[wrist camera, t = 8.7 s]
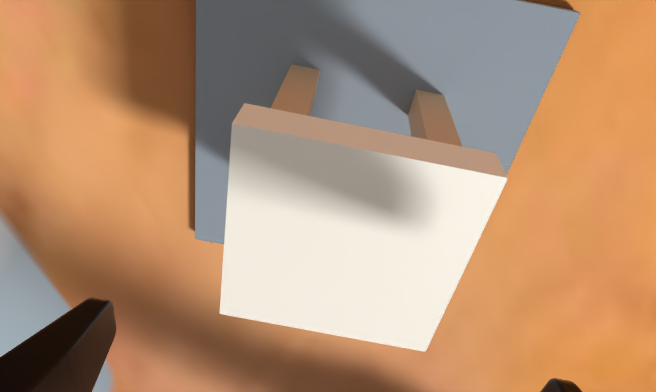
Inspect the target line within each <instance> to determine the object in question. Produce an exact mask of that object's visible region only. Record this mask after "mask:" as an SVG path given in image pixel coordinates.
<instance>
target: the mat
mask: <svg viewBox="0 0 656 392" xmlns="http://www.w3.org/2000/svg"><path fill="white" fill-rule="evenodd" d="M579 16H580V13H579V12H578V11H576V10H571V9H566V8H561V7H556V6H551V5H546V4H541V3H536V2H531V1H526V0H196V113H195V239H198V240H203V241H209V242H214V243H220V244H224V239H225V223H226V208H227V192H228V177H229V161H230V146H231V130H232V122H233V121H234V119H235V118H236V116H237V114H238V113H239V111H240V109H241V108H242V106H243V105H244V103H247V104H252V105H257V106H262V107H267V108H271V106H272V104H273V102H274V100H275V98H276V96H277V94H278V91H279V89H280V87H281V85H282V83H283V81H284V79H285V77H286V75H287V73H288V70H289V68H290V66H291V64H293V65H298V66H303V67H308V68H313V69H318V70H320V73H319V78H318V84H317V90H316V96H315V100H314V103H313V107H312V111H311V114H310V116H312V117H317V118H322V119H327V120H332V121H337V122H342V123H347V124H352V125H357V126H362V127H367V128H372V129H377V130H382V131H387V132H392V133H397V134H402V135H407V136H411V131H410V125H409V119H408V114H409V111H410V107H411V104H412V101H413V97H414V94H415V91H416V90H421V91H426V92H431V93H436V94H441V95H444V97H445V100H446V102H447V105H448V108H449V111H450V113H451V116H452V119H453V122H454V124H455V127H456V130H457V133H458V135H459V138H460V141H461V144H462V146H463V147H467V148H472V149H477V150H482V151H487V152H492V153H496V154H497V156H498V158H499V160H500V163H501V165H502V167H503V169H504V171H505V173H506V175H507V173H508V171H509V168H510V166H511V164H512V162H513V160H514V157H515V155H516V153H517V151H518V149H519V146H520V144H521V142H522V140H523V138H524V136H525V133H526V131H527V129H528V127H529V125H530V122H531V120H532V118H533V116H534V114H535V112H536V109H537V107H538V105H539V103H540V101H541V98H542V96H543V94H544V92H545V90H546V88H547V85H548V83H549V81H550V79H551V77H552V74H553V72H554V70H555V68H556V66H557V64H558V61H559V59H560V57H561V55H562V53H563V50H564V48H565V46H566V44H567V42H568V40H569V37H570V35H571V33H572V31H573V29H574V26H575V24H576V22H577V20H578V18H579Z"/></svg>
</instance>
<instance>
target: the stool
mask: <svg viewBox="0 0 656 392" xmlns="http://www.w3.org/2000/svg"><path fill="white" fill-rule="evenodd" d="M319 73H320V70H318V69H313V68H308V67H303V66H298V65H293V64H291V66H290V68H289V70H288V73H287V75H286V77H285V79H284V81H283V83H282V85H281V87H280V89H279V91H278V94H277V96H276V98H275V100H274V102H273V104H272V106H271V108H267V107H262V106H257V105H252V104H247V103H244V105H243V106H242V108H241V109H240V111H239V113H238V114H237V116H236V118H235V119H234V121H233V122H232V130H231V146H230V161H229V177H228V192H227V208H226V223H225V239H224V254H223V270H222V285H221V300H220V314H223V315H229V316H234V317H240V318H245V319H250V320H256V321H261V322H267V323H272V324H278V325H283V326H288V327H294V328H299V329H305V330H310V331H315V332H321V333H326V334H332V335H337V336H343V337H348V338H353V339H359V340H364V341H370V342H375V343H381V344H386V345H391V346H397V347H402V348H408V349H413V350H419V351H424V352H426V350H427V347H428V345H429V343H430V341H431V339H432V337H433V335H434V333H435V331H436V328H437V326H438V324H439V322H440V320H441V318H442V316H443V314H444V312H445V310H446V307H447V305H448V303H449V301H450V299H451V297H452V295H453V293H454V291H455V289H456V286H457V284H458V282H459V280H460V278H461V276H462V274H463V272H464V270H465V267H466V265H467V263H468V261H469V259H470V257H471V255H472V253H473V251H474V249H475V246H476V244H477V242H478V240H479V238H480V236H481V234H482V232H483V230H484V228H485V225H486V223H487V221H488V219H489V217H490V215H491V213H492V211H493V209H494V206H495V204H496V202H497V200H498V198H499V196H500V194H501V192H502V190H503V188H504V185H505V183H506V181H507V179H508V177H507V175H506V173H505V171H504V169H503V167H502V165H501V163H500V160H499V158H498V156H497V154H496V153H492V152H487V151H482V150H477V149H472V148H467V147H463V146H462V144H461V141H460V138H459V135H458V133H457V130H456V127H455V124H454V122H453V119H452V116H451V113H450V111H449V108H448V105H447V102H446V100H445V97H444V95H441V94H436V93H431V92H426V91H421V90H416V91H415V94H414V97H413V101H412V104H411V107H410V111H409V114H408V119H409V125H410V131H411V136H407V135H402V134H397V133H392V132H387V131H382V130H377V129H372V128H367V127H362V126H357V125H352V124H347V123H342V122H337V121H332V120H327V119H322V118H317V117H312V116H310V114H311V111H312V107H313V103H314V100H315V96H316V90H317V84H318V78H319Z"/></svg>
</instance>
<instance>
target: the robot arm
mask: <svg viewBox="0 0 656 392" xmlns="http://www.w3.org/2000/svg"><path fill="white" fill-rule="evenodd" d="M115 333H116V322H115V315H114V308H113V303H112V302H111V301H110V300H106V299H100V298H89V299H87V300H85V301H83V302H82V303H80V304H79V305H77V306H76V307H74V308H73V309H72V310H70V311H69V312H67V313H66V314H64V315H63V316H61V317H60V318H58V319H57V320H55V321H54V322H52V323H51V324H49V325H48V326H46V327H45V328H43V329H42V330H40V331H39V332H37V333H36V334H34V335H33V336H31V337H30V338H29V339H27V340H25V341H24V342H22V343H21V344H19V345H18V346H16V347H15V348H13V349H12V350H11V351H9V352H8V353H6V354H5V355H3V356H2V357H0V392H92V390H93V387H94V385H95V383H96V380H97V378H98V376H99V373H100V371H101V368H102V366H103V364H104V361H105V359H106V357H107V354H108V352H109V349H110V347H111V345H112V342H113V340H114V337H115ZM541 392H582V391H581V390H580V389H579V387H578V386H577V385H576V384H574V383H573V382H571V381H568V380H562V379H556V378H553V379H550V380H549V381H548V382H547V384H546V385H545V386H544V388H543V389H542V390H541Z"/></svg>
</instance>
